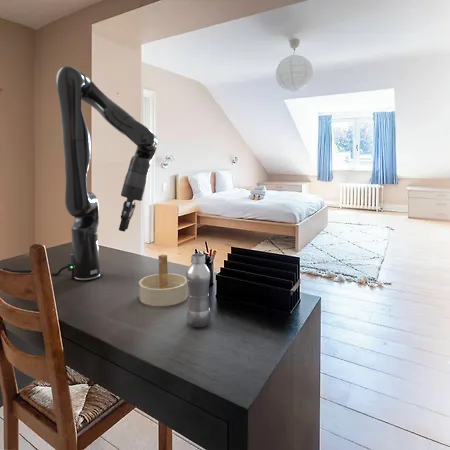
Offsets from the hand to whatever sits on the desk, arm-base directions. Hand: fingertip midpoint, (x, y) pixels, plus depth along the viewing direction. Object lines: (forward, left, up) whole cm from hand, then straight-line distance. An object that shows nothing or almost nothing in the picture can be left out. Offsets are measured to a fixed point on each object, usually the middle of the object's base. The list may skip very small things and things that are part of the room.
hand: (123, 229), depth 125 cm
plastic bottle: (+34, -26, -20) cm, 47 cm away
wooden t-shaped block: (+18, -10, -20) cm, 28 cm away
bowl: (+18, -10, -20) cm, 29 cm away
